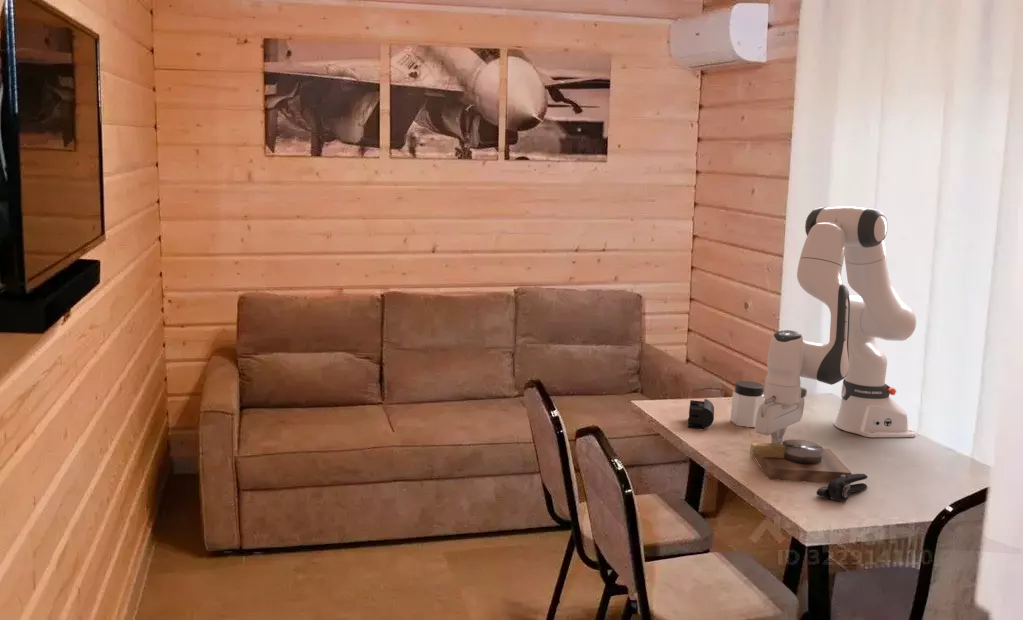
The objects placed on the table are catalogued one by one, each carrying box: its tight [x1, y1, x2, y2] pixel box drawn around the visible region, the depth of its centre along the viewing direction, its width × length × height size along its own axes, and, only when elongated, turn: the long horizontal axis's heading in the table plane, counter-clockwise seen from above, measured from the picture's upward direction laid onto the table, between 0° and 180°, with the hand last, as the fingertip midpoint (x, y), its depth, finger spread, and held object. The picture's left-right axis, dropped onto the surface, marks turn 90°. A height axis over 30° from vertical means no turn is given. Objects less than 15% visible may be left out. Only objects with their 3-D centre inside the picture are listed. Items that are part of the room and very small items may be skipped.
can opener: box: [816, 473, 869, 502], centre depth 227 cm, size 18×7×6 cm, turn 130°
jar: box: [729, 380, 765, 428], centre depth 280 cm, size 9×8×12 cm
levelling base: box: [754, 448, 852, 484], centre depth 243 cm, size 20×18×3 cm
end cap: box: [687, 398, 715, 430], centre depth 276 cm, size 10×7×7 cm
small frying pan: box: [749, 439, 824, 464], centre depth 242 cm, size 18×10×3 cm, turn 92°
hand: (776, 443), depth 249 cm, fingers closed
